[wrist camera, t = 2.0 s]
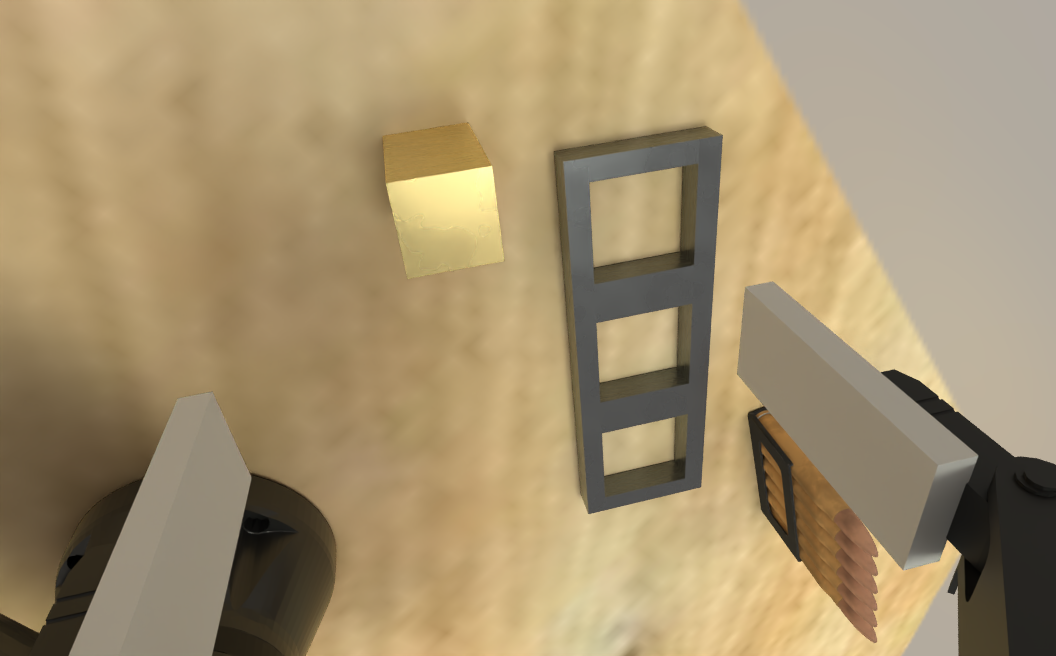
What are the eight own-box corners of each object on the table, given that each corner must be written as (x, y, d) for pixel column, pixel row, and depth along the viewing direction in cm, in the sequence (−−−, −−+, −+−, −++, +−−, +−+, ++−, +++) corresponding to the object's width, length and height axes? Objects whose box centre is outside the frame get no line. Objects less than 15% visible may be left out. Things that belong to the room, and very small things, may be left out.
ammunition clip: (747, 412, 44) (860, 552, 34) (772, 402, 44) (893, 539, 34) (761, 511, 50) (862, 655, 40) (783, 502, 50) (889, 644, 40)
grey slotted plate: (580, 494, 44) (588, 514, 43) (553, 151, 32) (563, 161, 30) (689, 469, 45) (701, 487, 44) (706, 126, 33) (722, 135, 31)
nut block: (400, 216, 32) (407, 279, 26) (382, 135, 30) (385, 183, 24) (479, 203, 32) (504, 261, 26) (467, 122, 30) (491, 166, 24)
